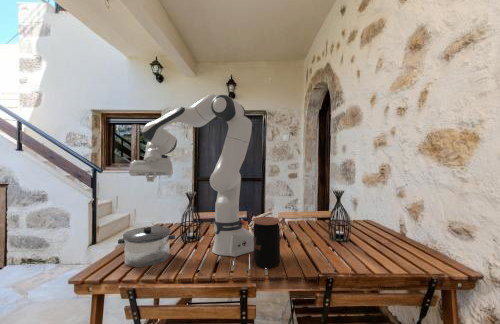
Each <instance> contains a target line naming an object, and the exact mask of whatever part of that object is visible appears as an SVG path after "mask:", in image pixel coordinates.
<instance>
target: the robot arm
mask: <svg viewBox="0 0 500 324" xmlns="http://www.w3.org/2000/svg"><path fill="white" fill-rule="evenodd" d="M215 118H218V119H220V120H221V121H222V122H225V123H226V124H227V126H228V128H227V133H226V137H225V140H224V143H223V147H222V150H221V154H220V156H219V159H218V161H217V162H216V165H215V168H214V170H213V172H212V173H211V175H210V177H209V183H210V186H211V188H212V189H213V190H214V191H216V192H217V196H216V201H215V205H214V206H215V207H214V211H215V212H214V213H215V214H214V215H215V216H214V217H215V219H214V224H213V226H214V229H213V230H214V241H213V246H212V249H211V251H212V253H213V254H216V255H218V256H226V257H227V256H228V257H238V256H241V255H245V254H248V253H252V252H254V234H252V233H251V232H250V231H249V230H248V229H246V228H244V227H243V226H246V225H247V221H245V220H243V219H242V220H241V219H240V218H239V217H240V216H239V213H240V206H239V205H240V204H239V203H240V193H241V182H242V175H241V173H240V170H241V167H242V164H243V162H244V161H245V160H246V159H245V158H246V155H247V151H248V148H249V144H250V140H251V135H252V127H253V123H252V120H250V118H248V117H247V115H246V109H245V108H244V106H243V105H242V104H240V103H239V102H238V101H237V100H235V99H234V98H232V97H230V96H229V95H228V94H219V95H216V94H214V93H209V94H208V95H206V96H204V97H202V98H200V99H199V100H198V101H197V102H195V103H194V104H192V105H190V106H187V107H183V106H180V107H177V108H175V109H173V110H171V111H170V112H167V113H166V114H164V115H161V116H160V117H159V118H156V119H155V120H152V121H149V122H148V123H146V124H145V125H144V126H143V127H142V129H141V136H142V138H143V140H145V141H146V145H145V151H144V152H145V153H144V156H143V159H134V160H133V161H130V163H129V168H128V174H129V175H130V176H131V177H145V178H146V182H148V183H150V182H154V181H155V179H156V178H157V176H172V175H173V173H174V172H173V171H174V170H173V168H174V167H173V163H172V161H171V157H170V155H168V154H171V153H172V152H173V151H175V150H176V148H177V143H178V139H177V137H175V135H173V134H172V133H171V132H169V131H168V130H167V129H165V128H166V127H168V126H169V125H171V124H174V123H182V124H185V125H188V126H190V127H193V128H201V127H203V126H205V125H207V124H209V122H210V121H212V120H213V119H215Z"/></svg>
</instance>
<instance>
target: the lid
mask: <svg viewBox="0 0 500 324" xmlns="http://www.w3.org/2000/svg"><path fill="white" fill-rule="evenodd" d="M167 235H171V228H169V227H167V226H160V225H159V226H158V225H157V226H155V225H153V226H143V227H138V228H134V229H131V230H128V231H125V232H124V233H123V234H122V239H125V240H127V241H149V240H155V239H159V238H162V237H165V236H167Z"/></svg>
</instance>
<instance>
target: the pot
mask: <svg viewBox="0 0 500 324" xmlns="http://www.w3.org/2000/svg"><path fill="white" fill-rule="evenodd" d="M175 239H176V234H169V235H167V236H165V237H162V238H159V239H155V240H149V241H127V240H125V239H123V238H119V239H118V240H117V245H121V244H122V245H123V244H124V264H125V265H127V266H129V267H133V268H134V267H135V268H137V267H138V268H139V267H140V268H141V267H142V268H143V266H144V267H150V266H154V265H157V264H158V265H159V264H160V262H161V263H163V262H165V261H166V260H168V259H169V258H170V240H171V241H172V240H175ZM162 261H163V262H162ZM149 265H150V266H149Z"/></svg>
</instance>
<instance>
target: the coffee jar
mask: <svg viewBox="0 0 500 324" xmlns="http://www.w3.org/2000/svg"><path fill="white" fill-rule="evenodd" d="M253 223H254V224H253V237H254V251H253V262H254V264H255V265H256V266H257V267H259V268H262V269H273V268H272V267H274V268H276V267H277V265H278V266H279V264H280V262H281V246H280V245H281V240H280V239H281V235H280V233H281V230H280V219H279V218H278V217H274V216H258V217H255V218H254V219H253ZM275 266H276V267H275Z"/></svg>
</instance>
